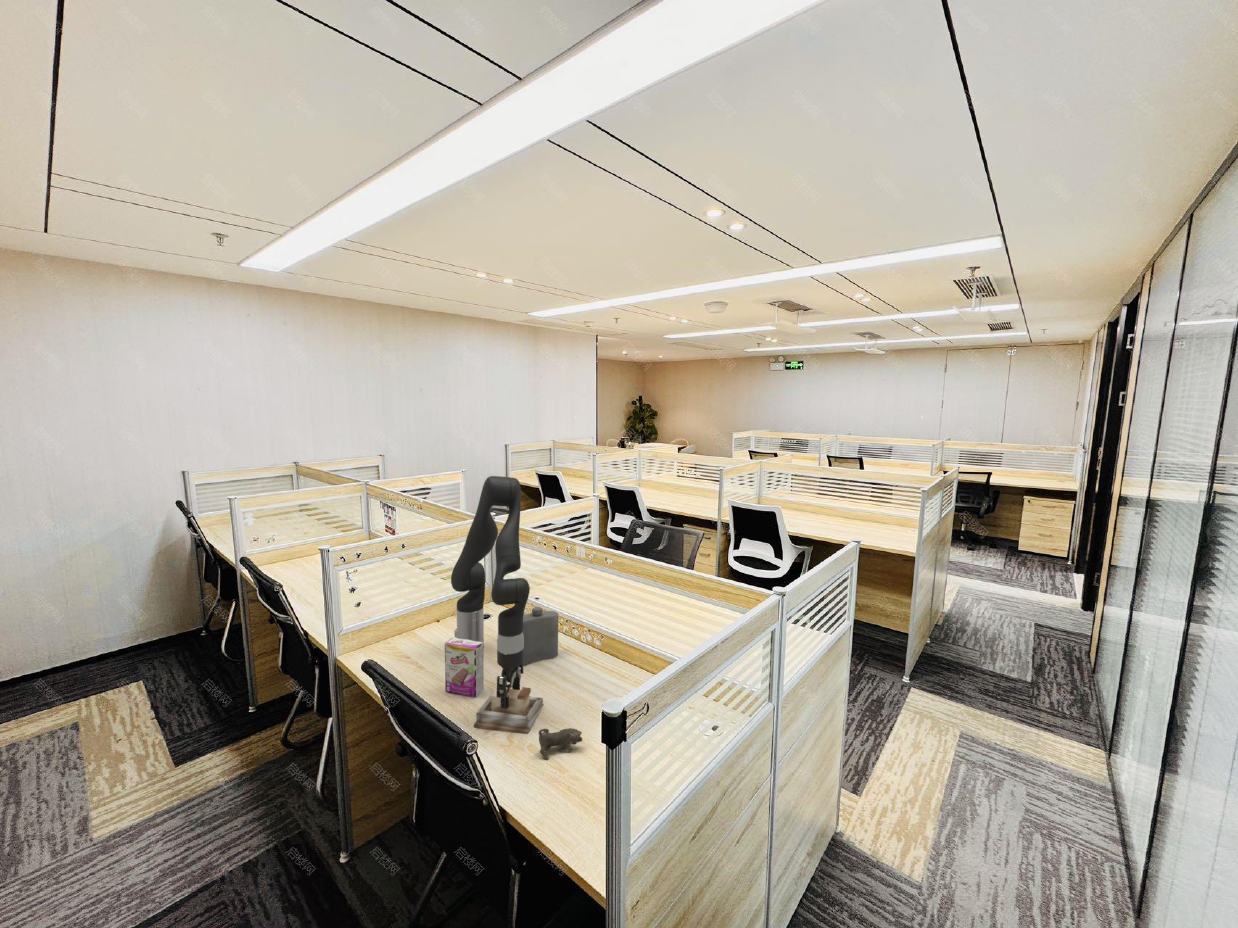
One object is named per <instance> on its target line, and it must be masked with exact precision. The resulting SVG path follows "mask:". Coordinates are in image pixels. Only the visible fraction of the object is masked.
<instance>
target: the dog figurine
mask: <svg viewBox="0 0 1238 928" xmlns="http://www.w3.org/2000/svg"><path fill="white" fill-rule="evenodd" d="M538 735H539V736H538V743H539V745H540V750H539V753H540V755H542V757H543V759H544V760H546V761H549V760H550V757H549V756H548V755H547V754H546V750H547V749H549V748H554V747H561V748H558V752H560V753H562V754H571V753H573V749H572V747H571V743H572V745H573V746H575V745H577V743H578V741H582V740H583V737H582V736H581V735H582V730H581V731H580V730H578V729H577V728H571V727H570V728H564V729H561V730H559V731H556V732H555V731H554V732H550V729H548V728H542V729H540V730H539V731H538Z"/></svg>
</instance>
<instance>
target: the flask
mask: <svg viewBox="0 0 1238 928" xmlns="http://www.w3.org/2000/svg"><path fill="white" fill-rule="evenodd" d="M523 635H524V661H523V667H526V666H529V665H532V664H535V663H537V662H541V661H546V660H552V659H556V658H557V657H558V656H559V613H558V612H557V611H555V610H545V611H544V610H543V608H542V607H541V606H534V607H532V609H531V613H526V614H525V613H524V615H523Z"/></svg>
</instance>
